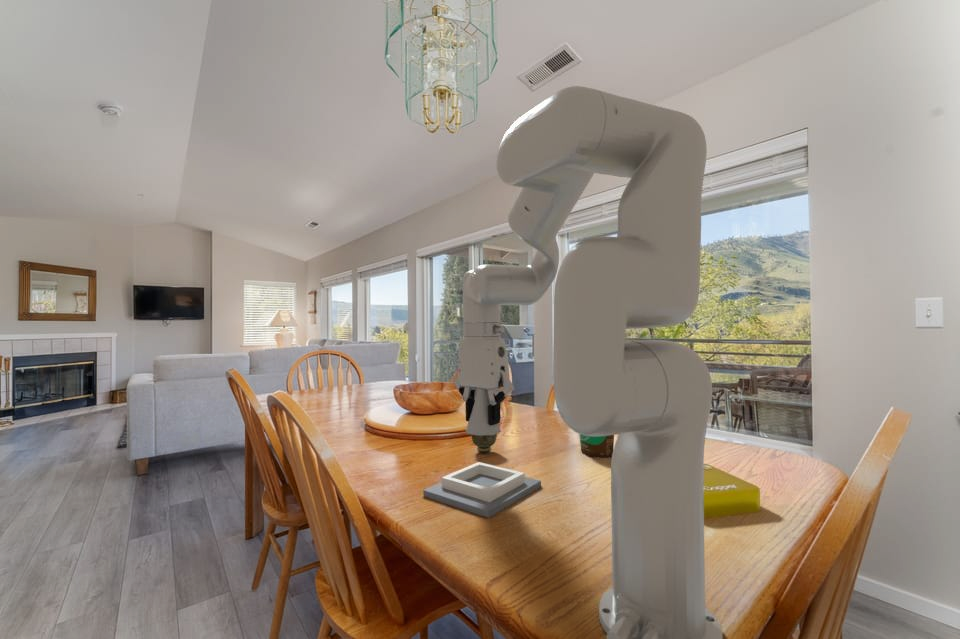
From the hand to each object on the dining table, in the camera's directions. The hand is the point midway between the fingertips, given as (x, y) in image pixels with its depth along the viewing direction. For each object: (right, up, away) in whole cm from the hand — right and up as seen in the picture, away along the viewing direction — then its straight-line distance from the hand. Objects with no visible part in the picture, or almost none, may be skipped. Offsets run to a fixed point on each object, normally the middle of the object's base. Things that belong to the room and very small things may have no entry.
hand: (482, 421), depth 87 cm
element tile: (+41, -14, -5) cm, 44 cm away
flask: (0, -3, 0) cm, 3 cm away
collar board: (0, -14, 0) cm, 14 cm away
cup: (+1, -15, +26) cm, 30 cm away
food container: (+28, -14, +24) cm, 39 cm away
